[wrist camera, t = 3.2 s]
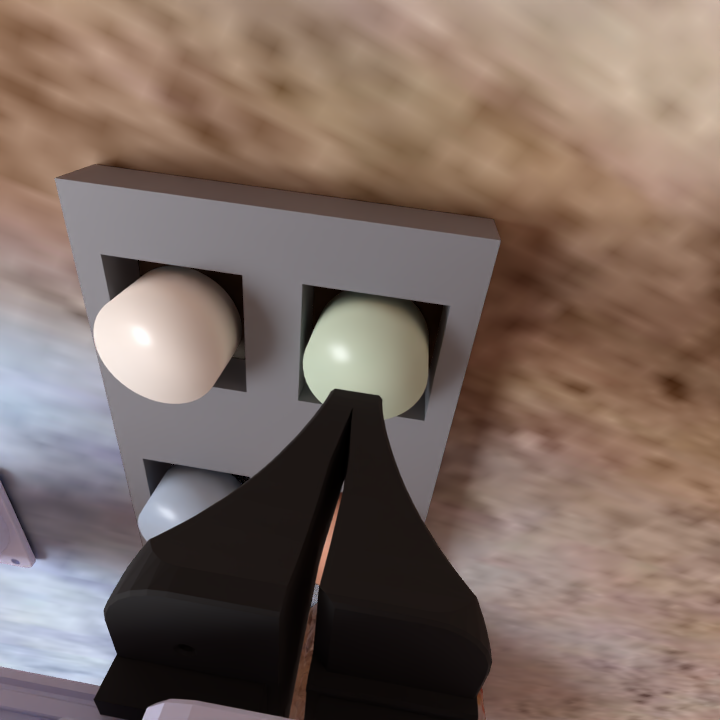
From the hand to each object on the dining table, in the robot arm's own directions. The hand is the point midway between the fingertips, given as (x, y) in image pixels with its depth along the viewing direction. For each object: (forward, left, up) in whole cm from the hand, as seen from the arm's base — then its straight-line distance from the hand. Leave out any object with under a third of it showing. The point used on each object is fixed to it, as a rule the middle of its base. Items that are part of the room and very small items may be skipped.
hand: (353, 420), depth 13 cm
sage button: (0, 0, -5) cm, 5 cm away
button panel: (-3, -4, -5) cm, 8 cm away
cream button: (-6, 0, -4) cm, 8 cm away
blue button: (-6, -9, -4) cm, 12 cm away
